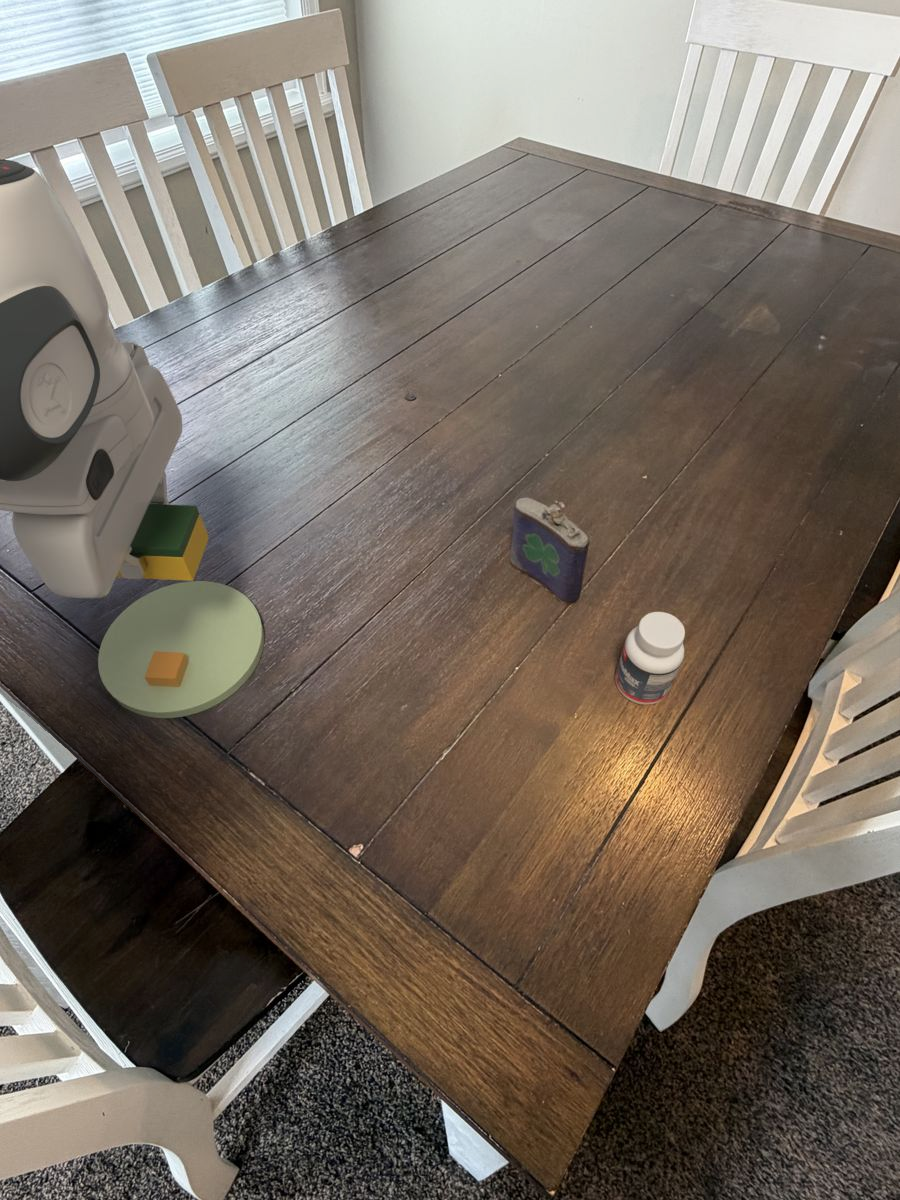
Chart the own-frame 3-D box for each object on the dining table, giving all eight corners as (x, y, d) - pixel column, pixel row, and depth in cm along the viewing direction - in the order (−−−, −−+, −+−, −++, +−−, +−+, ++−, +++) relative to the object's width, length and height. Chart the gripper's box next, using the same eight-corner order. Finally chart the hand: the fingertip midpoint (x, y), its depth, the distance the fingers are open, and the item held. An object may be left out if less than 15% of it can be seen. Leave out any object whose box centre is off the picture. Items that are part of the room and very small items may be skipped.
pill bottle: (606, 666, 72) (621, 611, 65) (655, 655, 73) (676, 599, 66) (627, 711, 69) (645, 659, 62) (678, 700, 69) (702, 646, 62)
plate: (186, 747, 67) (182, 741, 66) (67, 671, 72) (62, 664, 71) (296, 627, 75) (294, 620, 74) (183, 566, 81) (180, 559, 80)
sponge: (101, 576, 62) (82, 545, 59) (121, 534, 65) (104, 501, 62) (193, 581, 62) (178, 549, 59) (209, 537, 65) (196, 505, 62)
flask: (504, 562, 80) (510, 490, 72) (522, 548, 82) (530, 476, 73) (569, 609, 76) (583, 539, 68) (587, 594, 77) (603, 523, 69)
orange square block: (179, 687, 69) (175, 678, 68) (149, 685, 70) (143, 677, 68) (188, 661, 71) (184, 652, 70) (159, 659, 71) (153, 650, 70)
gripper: (93, 327, 58) (151, 461, 69) (-29, 511, 45) (66, 639, 56) (171, 330, 57) (217, 463, 68) (70, 516, 45) (146, 643, 56)
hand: (149, 544), depth 62 cm, fingers closed on sponge, 5 cm apart
